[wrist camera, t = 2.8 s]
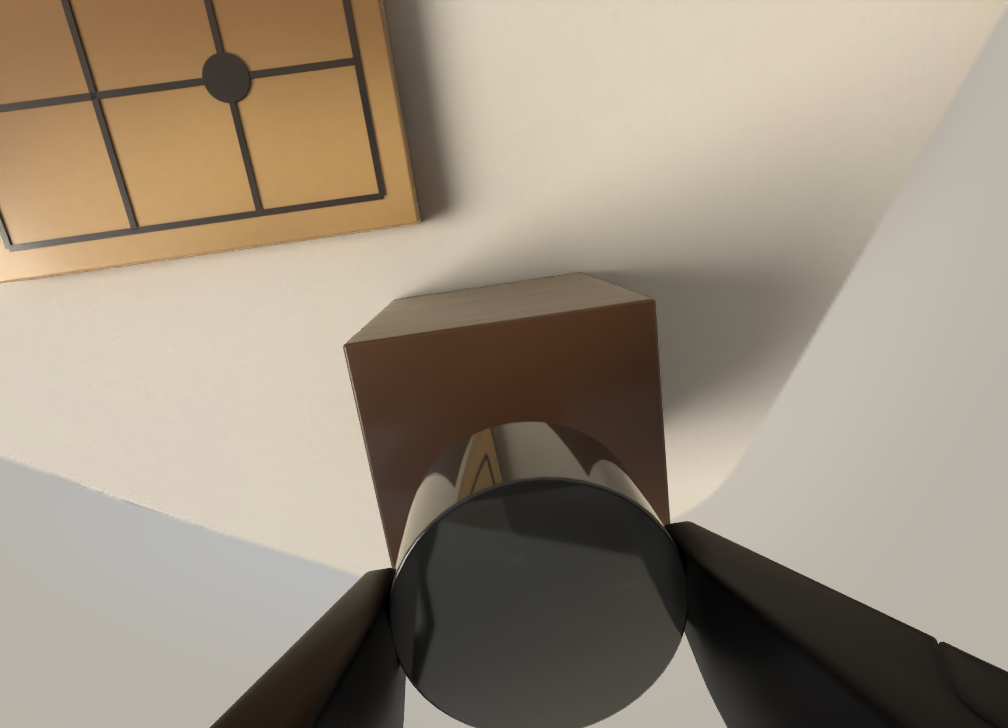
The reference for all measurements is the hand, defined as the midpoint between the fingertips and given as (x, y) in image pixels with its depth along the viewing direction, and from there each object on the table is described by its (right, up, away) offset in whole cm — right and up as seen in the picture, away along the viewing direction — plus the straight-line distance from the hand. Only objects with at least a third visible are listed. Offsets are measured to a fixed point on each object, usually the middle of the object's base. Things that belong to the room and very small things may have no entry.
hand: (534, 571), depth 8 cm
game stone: (0, 0, +1) cm, 1 cm away
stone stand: (-1, +3, +12) cm, 13 cm away
